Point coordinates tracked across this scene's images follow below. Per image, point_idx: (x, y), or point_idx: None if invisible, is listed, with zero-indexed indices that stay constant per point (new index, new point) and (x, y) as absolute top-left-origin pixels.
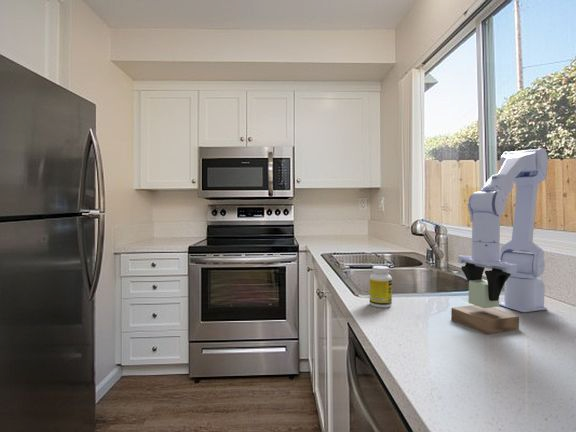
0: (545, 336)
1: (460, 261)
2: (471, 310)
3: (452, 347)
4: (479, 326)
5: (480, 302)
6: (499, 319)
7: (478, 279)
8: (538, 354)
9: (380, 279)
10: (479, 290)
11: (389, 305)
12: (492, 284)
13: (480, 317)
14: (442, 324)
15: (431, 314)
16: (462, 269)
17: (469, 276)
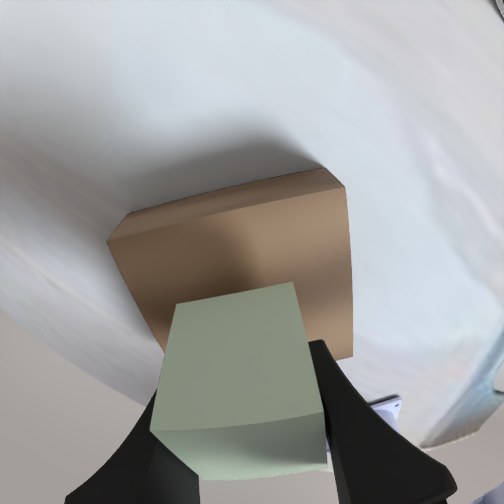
0: (136, 369)
1: (501, 499)
2: (277, 268)
3: (21, 26)
4: (151, 214)
5: (199, 317)
6: (140, 310)
7: (332, 455)
8: (7, 267)
9: None
10: (204, 379)
11: (502, 8)
12: (120, 450)
13: (156, 245)
14: (263, 79)
15: (409, 118)
16: (431, 472)
17: (345, 448)
